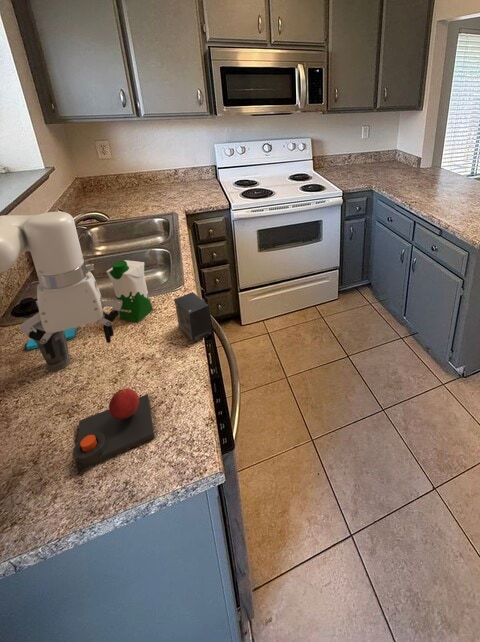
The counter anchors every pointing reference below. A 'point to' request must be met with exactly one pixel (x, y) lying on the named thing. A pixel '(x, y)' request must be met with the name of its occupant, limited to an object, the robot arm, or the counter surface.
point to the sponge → (68, 333)
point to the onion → (123, 403)
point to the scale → (113, 434)
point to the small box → (193, 317)
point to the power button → (88, 443)
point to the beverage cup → (62, 352)
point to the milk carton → (130, 289)
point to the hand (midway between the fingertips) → (82, 346)
